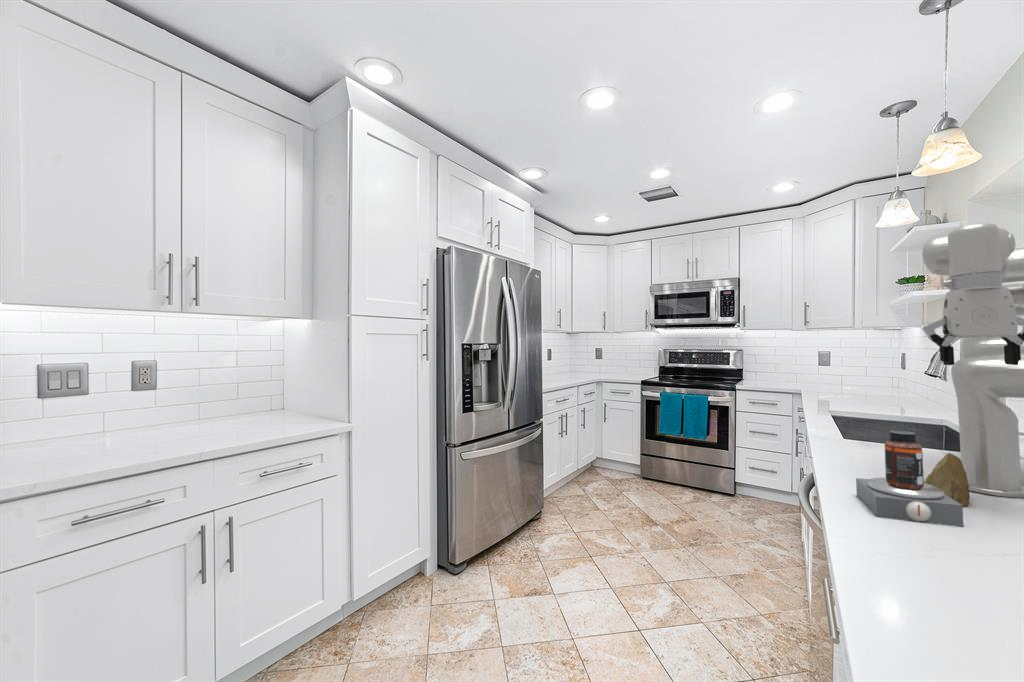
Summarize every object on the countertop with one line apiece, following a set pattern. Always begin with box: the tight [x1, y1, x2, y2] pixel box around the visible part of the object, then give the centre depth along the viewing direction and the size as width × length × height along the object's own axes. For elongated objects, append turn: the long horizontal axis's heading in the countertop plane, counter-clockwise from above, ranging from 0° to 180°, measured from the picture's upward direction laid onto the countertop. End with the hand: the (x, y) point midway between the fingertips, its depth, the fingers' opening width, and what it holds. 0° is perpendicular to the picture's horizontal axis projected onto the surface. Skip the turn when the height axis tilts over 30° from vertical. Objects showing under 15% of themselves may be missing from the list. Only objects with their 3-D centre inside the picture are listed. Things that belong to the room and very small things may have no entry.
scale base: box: [855, 477, 964, 528], centre depth 90 cm, size 14×13×4 cm
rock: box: [924, 452, 971, 507], centre depth 97 cm, size 11×9×10 cm
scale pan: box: [867, 477, 944, 499], centre depth 91 cm, size 12×12×1 cm
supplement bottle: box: [884, 430, 925, 489], centre depth 91 cm, size 6×6×11 cm
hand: (979, 364), depth 90 cm, fingers open, 9 cm apart
